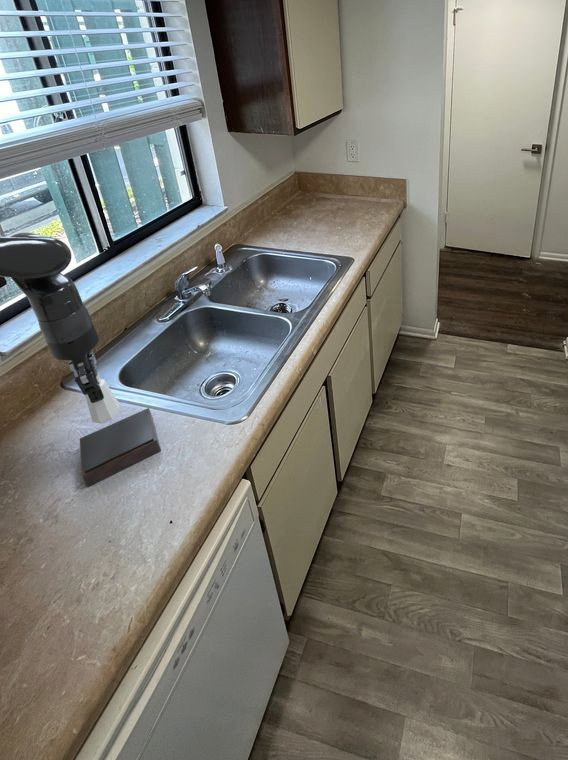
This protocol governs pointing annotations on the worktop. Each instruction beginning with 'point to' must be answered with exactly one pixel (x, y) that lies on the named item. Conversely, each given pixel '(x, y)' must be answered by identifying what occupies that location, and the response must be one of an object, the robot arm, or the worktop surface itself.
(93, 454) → the wedge
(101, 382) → the pepper shaker
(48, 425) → the worktop surface
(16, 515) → the worktop surface
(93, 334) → the robot arm
